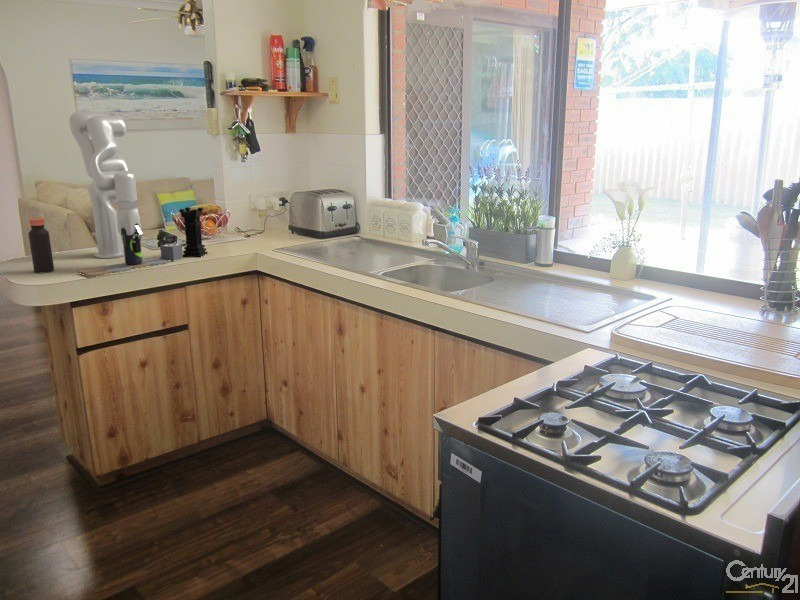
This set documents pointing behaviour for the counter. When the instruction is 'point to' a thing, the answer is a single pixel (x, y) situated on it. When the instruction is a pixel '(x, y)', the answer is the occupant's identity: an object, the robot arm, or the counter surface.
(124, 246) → the beverage can
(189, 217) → the chess piece
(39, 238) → the bottle
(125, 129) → the robot arm
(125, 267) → the board
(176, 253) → the die
